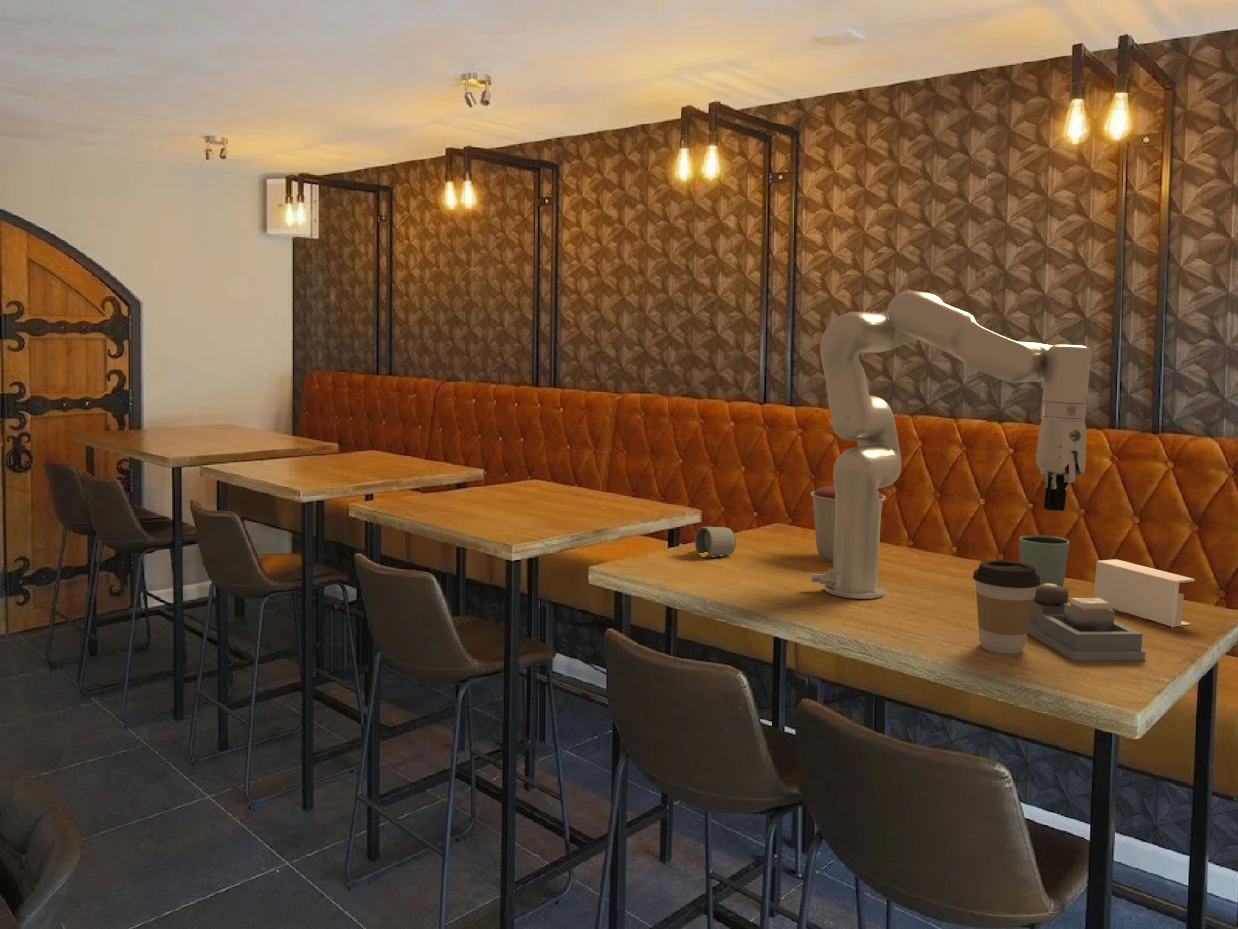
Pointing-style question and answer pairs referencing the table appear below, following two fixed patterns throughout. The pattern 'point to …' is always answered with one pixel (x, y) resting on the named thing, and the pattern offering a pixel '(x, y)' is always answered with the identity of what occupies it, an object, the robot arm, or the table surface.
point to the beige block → (1089, 615)
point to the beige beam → (1141, 591)
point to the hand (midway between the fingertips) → (1054, 509)
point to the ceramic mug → (715, 541)
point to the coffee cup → (1004, 604)
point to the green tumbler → (1045, 557)
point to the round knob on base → (1051, 594)
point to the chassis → (1083, 637)
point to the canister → (827, 520)
